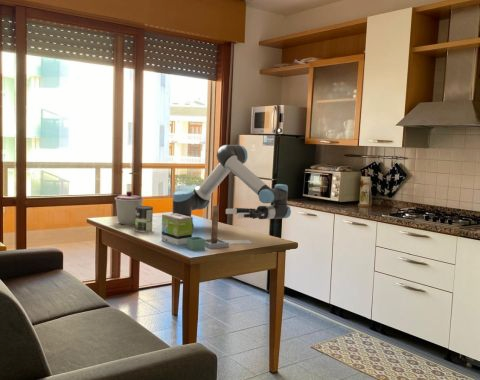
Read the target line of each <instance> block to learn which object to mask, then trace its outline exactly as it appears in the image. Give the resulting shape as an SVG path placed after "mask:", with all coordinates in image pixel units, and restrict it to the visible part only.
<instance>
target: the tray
mask: <svg viewBox="0 0 480 380" xmlns="http://www.w3.org/2000/svg"><path fill="white" fill-rule="evenodd" d="M204 239H205V248H207V249H220V248H229V243H230V242H228V241H226V240H223V239H221V238H219V237H217V243H214V244H211V238H204Z"/></svg>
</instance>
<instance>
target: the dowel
mask: <svg viewBox="0 0 480 380" xmlns="http://www.w3.org/2000/svg"><path fill="white" fill-rule="evenodd" d="M211 208H212V209H211V232H210V235H211V237H210V239H211V244H214V243H217V238H218V232H219V231H218V230H219V229H218V227H219V205H217V204H216V205H215V204H213V205H212V207H211Z"/></svg>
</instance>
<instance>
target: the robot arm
mask: <svg viewBox="0 0 480 380" xmlns="http://www.w3.org/2000/svg"><path fill="white" fill-rule="evenodd" d="M248 157H249V155H248V150H247V149H246V148H245V146H243V145H239V144H223V145H221V146H220V147H218V149H217V151H216V159H217V161H218V164H217V165H216V166H215V168H214V169H213V170H212V171H211V172H210V173H209V175H208V176H207V177H206V178H205V180H204V181H202V183H201V184H200V185H198V186H196V187H195V188H194V189H193V190H192V191H191V190H188V189H187V190H186V189H184V190H177V191H174V192H173V195H172V214H174V213H177V214H181V215H185V216H189V217H192V211H198V210H200V211H201V210H203V209H206V208H207V207H208V206H209V205H210V200H211V198H212V196H211V195H212V194H213V192H214V191H215V190H216V189H217V188H218V186H219V185H220V184H222V182H223V181H224V179H225V178H226V177H227V176H228V175H229V174H230V172H231V173H233V174H234V175H235V176H236V178H238V179H239V180H240V181H241V182H242V183H244V185H246V187H248V188H250V190H251V191H253V192H254V194H256V195H258V199H259V200H258V201H260V203H263V204H271V203H273V204H272V205H258V206H257V208H249V207H248V208H245V207H242V208H241V207H235V208H226V209H225V214H226V215H237V219H253V220H254V219H259V220H268V221H270V220H271V219H275V220H276V219H279V220H280V219H287V218H289V217H290V216H291V213H292V210H291V207H290V206H289V205H288V194H289V187H288V185H287V184H282V183H277V184H274V188H271V187H270V186H268V185H267V183H266V182H264V181H263V180H262V179H261V178H259V176H257V174H255V173H254V172H253V171H251V170H250V169H249V168H248V167H247V166H246V165H245V163H247V160H248ZM194 228H195V225H194V223H193V224H192V230H194Z"/></svg>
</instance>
